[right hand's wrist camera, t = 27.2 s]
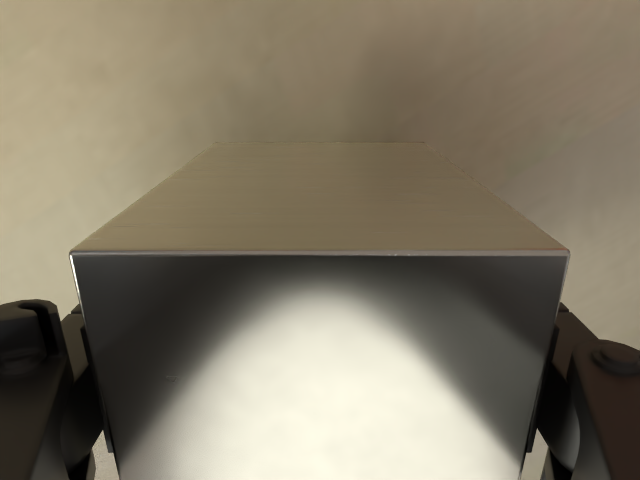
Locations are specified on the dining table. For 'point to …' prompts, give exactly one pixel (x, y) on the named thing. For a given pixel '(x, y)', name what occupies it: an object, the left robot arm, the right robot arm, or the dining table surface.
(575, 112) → the dining table surface
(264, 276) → the grey block
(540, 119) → the dining table surface
